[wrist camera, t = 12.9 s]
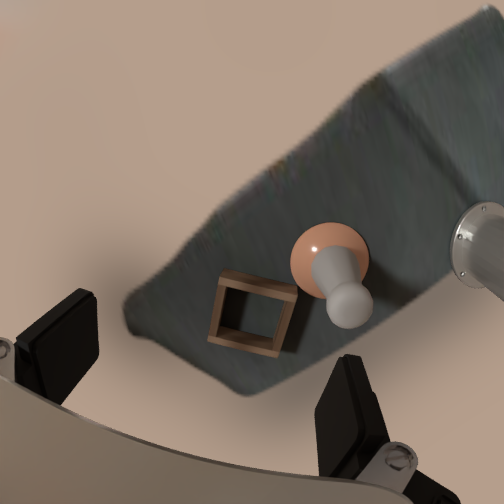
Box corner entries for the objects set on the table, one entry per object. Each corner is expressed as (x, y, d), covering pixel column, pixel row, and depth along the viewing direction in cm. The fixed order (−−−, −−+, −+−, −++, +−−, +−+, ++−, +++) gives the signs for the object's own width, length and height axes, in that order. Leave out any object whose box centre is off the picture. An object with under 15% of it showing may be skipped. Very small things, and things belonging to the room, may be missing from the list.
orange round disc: (378, 233, 37) (378, 234, 37) (353, 304, 40) (354, 305, 40) (301, 213, 37) (302, 213, 37) (281, 288, 41) (281, 289, 40)
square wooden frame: (296, 285, 40) (297, 295, 37) (278, 345, 43) (277, 358, 40) (224, 268, 40) (219, 276, 38) (212, 329, 43) (207, 341, 41)
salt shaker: (309, 240, 38) (320, 281, 26) (355, 239, 37) (386, 279, 25) (309, 285, 40) (319, 341, 27) (353, 283, 39) (379, 337, 27)
